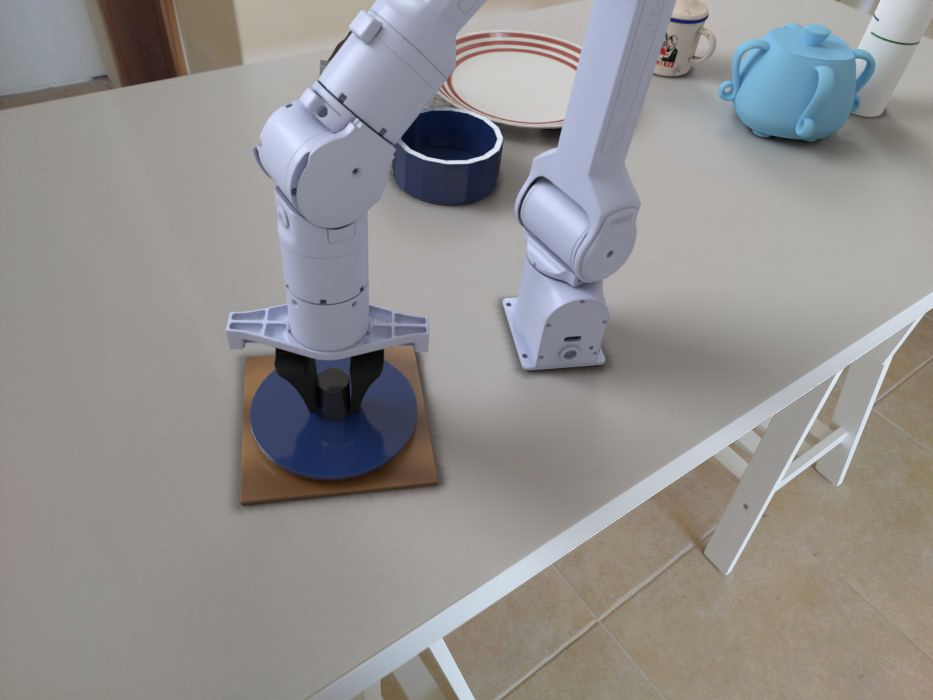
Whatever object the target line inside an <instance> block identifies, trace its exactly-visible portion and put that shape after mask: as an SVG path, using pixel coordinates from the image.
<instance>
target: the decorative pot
mask: <svg viewBox="0 0 933 700" xmlns="http://www.w3.org/2000/svg"><path fill="white" fill-rule="evenodd" d="M748 51H749V52H748ZM746 52H748V53H747V54H746V56H744V55H745V53H746ZM743 56H744V58H743ZM742 58H743V59H742ZM855 59H863V60H865V61H866V62H867V64H866V67H865V69H864V70H863V72H862V73H861V75H860V76H859V77H858V78H857V79H856V60H855ZM731 60H732V61H731V80H724V81H723V82H722V83H721V84H719V86H718V89H717V95H718V97H719V98H720V99H721V100H722V101H724V102H732V105H733V108H734V111H735V112H736V115H737V116H738V118H739V119H740V121H741V122H742V123H743V124H744V125H745V126H747V127H749V128H750V129H751V130H752V133H753V134H754V135H756V136H758V137H760V138H770V137H771V136H773V137H777V138H784V139H791V140H802V141H805V142H815V141H816V140H820V139H824V138H828V137H829V136H831V135H833V134H835V133H836V132H837V131H839V130H840V129H841V128H843V126H845V124H846V123H847V122H848V119H849V117H850V114H852V112H855V111H856V110H857V109H858V108H859V107H860V104H861V98H860V96H859V95H857V93H858V92H859V91H860V90H861V88H862V87H863V86H864V85H865V84H866V83H867V82H868V81H869V79H870V78H871V76H872V75H873V73H874V71H875V66H876V64H875V60H874V58H873V56H872V55H871V54H870V53H869V52H867V51H865V50H862V49H858V48H854V49H852V48H851V47H850V45H849V44H848V43H847V42H846V41H845V40H843V39H842V38H841V37H839V35H835V34H833V33H832V31H831V29H829V27H827V26H825V25H823V24H819V23H808V24H806V25H804V27H803V26H802V25H801V24H800V23H796V22H791V23H787V24H785V25H783V26H782V27H781V26H780V27H776V28H773V29H770V30H769V31H768V32H767V33H766V34H765V35H763V37H761V38H753V39H748V40H746V41H744V42H742V43H740V45H738V46H737V47H736V49H735V51H734V52H733V55H732V59H731ZM728 87H729V89H730V91H725V90H726V89H727V88H728ZM853 101H854V102H853Z"/></svg>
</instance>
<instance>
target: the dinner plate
mask: <svg viewBox="0 0 933 700" xmlns="http://www.w3.org/2000/svg"><path fill="white" fill-rule="evenodd" d="M582 46H583V45H579V44H577V43H575V42H573V41H570V40H567V39H564V38H561V37H558V36H554V35H550V34H545V33H541V32H536V31H535V32H534V31H527V30H517V29H491V30H480V31H479V30H478V31H474V32H469V33H464V34H462V35H456V67H455V70H454V71H453V73H452V74H451V75H450V76H449V77H448V79H447V80H446V81H445V83H444V84H443V85H442V86H441V88H440V89H439V90H438V92H436V94H437V95H438V96H439V97H440V98H441V99H442V100H444V101H445V102H446V103H448V104H449V105H451V106H453V108H457V109H462V110H467V111H472V112H474V113H476V114H479V115H481V116H484V117H486V118H488V119H489V120H490V121H492V122H493V123H494V124H499V125H503V126H509V127H514V128H515V127H516V128H523V129H535V130H537V129H541V130H543V129H545V130H546V129H547V130H548V129H550V130H551V129H562V127H563V123H564V119H565V115H566V111H567V107H568V103H569V99H570V95H571V91H572V87H573V82H574V78H575V74H576V70H577V66H578V62H579V58H580V54H581V50H582Z"/></svg>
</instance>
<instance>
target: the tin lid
mask: <svg viewBox="0 0 933 700" xmlns="http://www.w3.org/2000/svg"><path fill="white" fill-rule="evenodd" d="M350 359H351V357H348V358H343V359H338V360H318V359H315V362H316V369H317V374H318V376H317V379H316V384H317V395H318V413H310V412H309V411H308V408H307V406H306V404H305V402H304V400H303V399H302V397H301V396H300V394H299V393H298V391H297V390H296V389H295V388H294V387H293V386H292V385H291V384H290V383H289V382H288V381H287V380H285V379H284V378H282V377H280V376H278V374H277V372H276V369H275V370H274V371H272V372H271V373H270V374H269V375H268V376H267V377H266V378H265V379H264V381H263V382H262V383H261V384H260V386H259V388H258V389H257V391H256V393H255V395H254V397H253V400H252V403H251V407H250V426H251V430H252V434H253V437H254V439H255V442H256V444H257V445H258V447H259V448H260V450H261V451H262V453H263V454H264V455H265V456H266V457H267V458H268V459H269V460H270V461H272V462H273V463H274V464H275V465H277V466H279V467H280V468H282V469H284V470H285V471H288V472H290V473H292V474H295V475H298V476H301V477H305V478H309V479H315V480H329V481H330V480H344V479H350V478H355V477H358V476H362V475H365V474H367V473H370V472H372V471H375V470H377V469H378V468H380V467H382V466H384V465H385V464H387V463H388V462H390V461H391V460H392V459H394V458H395V457H396V456H397V455H398V454H399V453H400V452H401V451H402V450H403V448H404V447H405V446H406V445H407V443H408V442H409V440H410V438H411V437H412V434H413V432H414V429H415V426H416V422H417V411H418V408H417V400H416V396H415V393H414V390H413V388H412V386H411V384H410V383H409V381H408V380H407V378H406V377H405V376H404V375H403V374H402V373H401V371H399V370H398V369H397V368H396V367H395V366H393V365H392V364H390V363H389V362H387V361H386V360H384V367H383V370H382V373H381V375H380V377H379V378H377V379H376V380H375V381H374V382H373V383H372V384H371V386H370V387H369V388H368V390H367V392H366V393H365V395H364V397H363V400H362V403H361V406H360V412H359V413H358V414H357V413H351V411H350V404H351V379H350Z"/></svg>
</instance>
